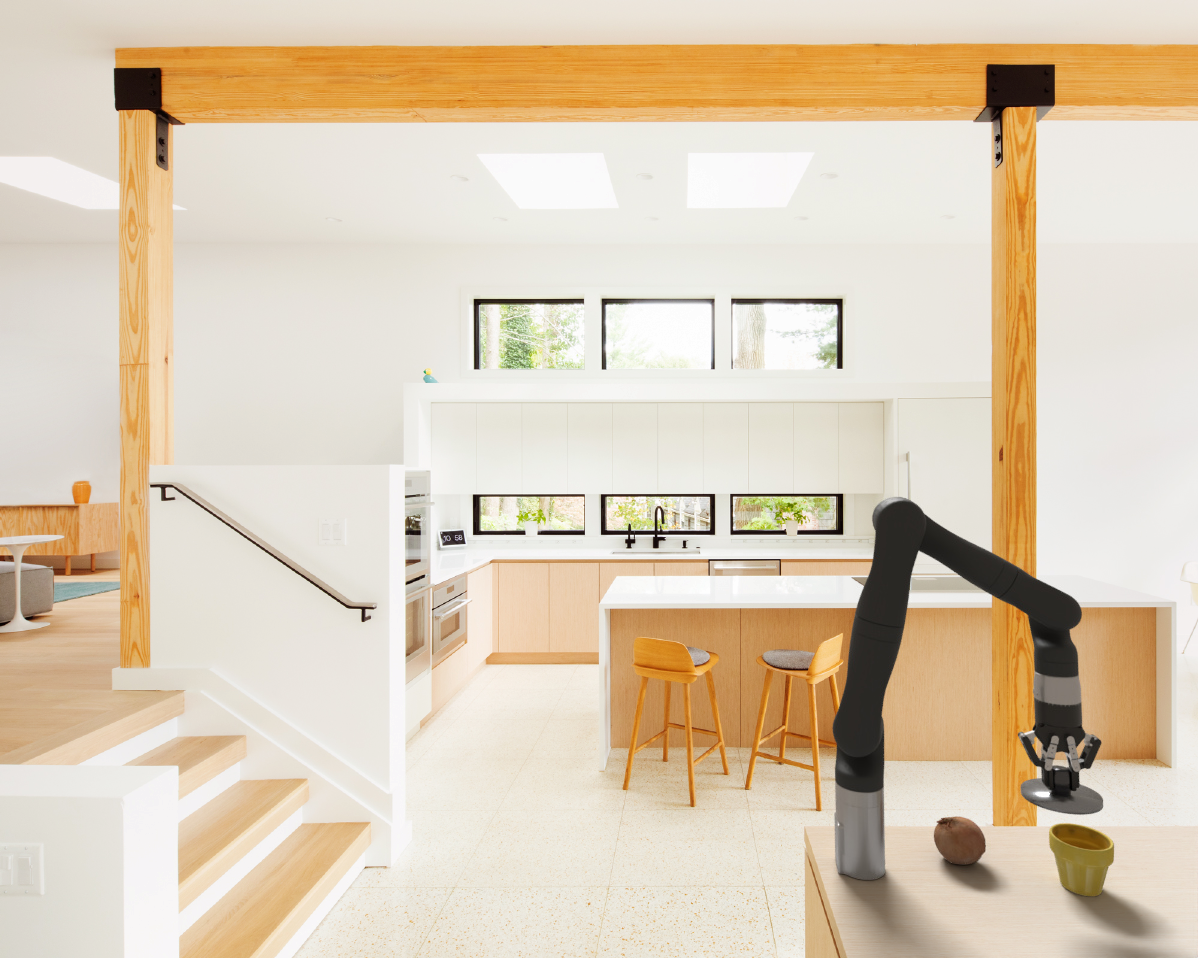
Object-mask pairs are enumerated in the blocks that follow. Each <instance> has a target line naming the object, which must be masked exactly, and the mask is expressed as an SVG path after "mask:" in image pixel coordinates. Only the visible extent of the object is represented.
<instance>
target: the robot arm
mask: <svg viewBox="0 0 1198 958" xmlns="http://www.w3.org/2000/svg"><path fill="white" fill-rule="evenodd" d="M871 519H872V520H871V521H872V527H873V528H874V531H875V532H874V533H875V534H874V546H873V547H874V548H873V555H872V562H871V566H870V569H869V573H868V575H867V579H866V581H865V583H864V585H863V588H862V590H861V593H860V596H859V598H858V601H857V604H856V609H855V612H854V617H853V622H852V628H851V632H850V633H851V635H850V640H849V649H848V656H847V657H848V659H847V671H846V672H847V673H846V680H845V684H844V689H843V694H842V697H841V699H840V702H839V706H838V709H837V712H836V714H835V716H834V719H833V722H832V727H831V728H832V735H833V739H834V741H835V743H836V756H835V757H836V758H835V764H834V783H835V784H834V785H835V786H834V789H835V790H834V792H835V794H834V795H835V799H834V800H835V812H834V817H833V818H834V856H835V857H834V858H835V863H836V868H837V872H838V874H843V875H846V876H849V877H851V878H854V879H856V880H857V879H858V880H865V881H868V880H869V881H870V880H871V881H873V880H877V879H881V877H883V876H884V875H885V873H886V843H885V841H886V840H885V838H886V837H885V836H886V835H885V832H886V831H885V787H884V786H885V783H884V781H885V780H884V779H885V724H884V718H883V709H884V707H883V706H884V701H885V700H884V699H885V695H886V691H887V687H888V684H889V682H890V679H891V677H892V674H893V670H894V668H895V665H896V661H897V658H898V655H899V653H900V652H899V651H900V648H901V645H902V640H903V636H904V635H903V634H904V631H905V630H904V629H905V626H906V625H905V624H906V619H907V612H908V606H909V599H910V591H911V580H912V579H911V578H912V574H913V570H914V567H915V563H916V561H917V557H918V554H919V552H921V553H922V554H924V555H927V556H928V557H930V558H931V559H934V560H935V561H937V562H939V563H940V564H942V565H943V566H945V567H946V568H948V569H949V570H951V571H953V572H954V573H955V574H957V575H958V576H959V577H960V578H962V579H964V580H966V581H967V582H969V583H970V584H972V585H974V586H975V587H977V588H978V589H980V590H982V591H984V592H985V593H987V594H988V595H991V596H993V597H994V598H997V599H998V600H1000V601H1002V602H1004V603H1006V604H1009V605H1010V606H1012V607H1015V608H1016V609H1018V610H1019V611H1020V612H1022V613H1024V614H1026V615H1027V618H1028V624H1029V629H1030V634H1031V638H1032V643H1033V648H1034V649H1033V667H1034V677H1033V688H1032V694H1033V703H1034V705H1033V706H1034V725H1033V726H1032V730H1030V731H1026V732H1023V731H1019V732H1018V733H1017V737H1018V739H1019V741H1020V742H1021V744H1022V747H1023V749H1024V751H1025V753H1026V755H1027V757H1028V759H1029V760H1030V762H1031V763H1032V764H1033V765H1034V766H1035V767H1038V768H1040V770H1041V771H1040V773H1041V778H1042V782H1043V784H1044V785H1045V786H1046V787H1047V788H1048V789H1049V790H1054V785H1053V771H1052V770H1051V769H1052V766H1054V765H1053V763H1054V760H1055V759H1056V755H1057V753H1061V752H1062V753H1063V754H1065V758H1066V761H1067V762H1066V763H1067V765H1068V766H1067V767H1066V768H1068V769H1070V782H1071V791H1076V788H1079V786H1080V771H1081V770H1084V769H1086V770H1089V769H1091V768H1092V766H1093V763H1094V761H1095V759H1096V756H1097V754H1098V752H1099V750H1100V747H1101V746H1102V740H1101V739H1100V738H1099V737H1097V735H1095V734H1089V733H1087V732H1085V731H1086V730H1085V729H1084V727H1083V710H1082V709H1083V708H1082V685H1081V680H1080V674H1079V673H1080V672H1079V652H1078V648H1077V646H1076V645H1075V644H1074V642H1073V640H1072V637H1071V631H1070V630H1072V629H1075V628H1076V627H1077V626H1078V625H1079V624H1080V623H1081V620H1082V616H1083V612H1082V608H1081V606H1080V603H1079V602H1078V601H1077V600H1076V599H1075V598H1074V597H1073V596H1071V595H1070V594H1069V593H1066V592H1064V591H1062V590H1060V589H1058V588H1056V587H1054V586H1052V585H1050V584H1048V583H1046V582H1044V581H1042V580H1041V579H1038V578H1035V576H1033V575H1031V574H1029V573H1028V572H1027V571H1025V570H1024V569H1022V568H1020V567H1019V566H1017V565H1016V564H1013V563H1012V562H1010V561H1008V560H1007V559H1004V558H1003V557H1001V556H999V555H998V554H996V553H993V552H991V551H990V550H987V549H986V548H984V547H981V546H979V545H977V544H975V543H973V542H971V541H969V540H967V539H965V538H963V537H961V536H959V535H957V534H955V533H954V532H952V531H950V530H949V529H947V528H945V527H944V526H943V525H940V524H939V523H937V522H936V521H935V520H933V519H932V518H931V517H929V516H928V515H927V514H926V513H925V512H924V511H923V509H922V508H921V507H920V506H919V504H917V503H915V501H912V500H911V499H908V498H906V497H902V496H892V497H891V496H890V497H888V498H885V499H883V500H881V501H880V502H879V503H878V504H876V506H875V508H874V509H873V512H872V516H871ZM1035 738H1037V740H1038V741H1039V742H1040V743H1041V748H1040V753H1041V755H1040V757H1039V756H1038V754H1037V751H1036V750H1035V748H1034V744H1035ZM1081 742H1083V744H1084V746H1083V748H1082V751H1081V753H1080V756H1079V754H1078V750H1077V748H1078V746H1079V745H1080V744H1082V743H1081Z"/></svg>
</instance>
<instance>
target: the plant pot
mask: <svg viewBox="0 0 1198 958" xmlns="http://www.w3.org/2000/svg"><path fill="white" fill-rule="evenodd" d="M1048 840H1049V841H1048V843H1049V849H1050V850H1051V851H1052V853H1053V855H1054V859H1055V864H1056V867H1057V872H1058V877H1059V881H1060V884H1061V886H1063V888H1065V889H1067V890H1068V891H1070V892H1072V893H1074V894H1076V895H1080V896H1084V897H1098V896H1100V895H1101V894H1102V892H1103V888H1104V886H1105V881H1106V878H1107V874H1108V870H1109V867H1111V865H1112V864H1113V863H1114V860H1115V843H1114V841H1113V840H1112V838H1111V837H1109V836H1108V835H1107V834H1105V832H1102V831H1100V830H1097V829H1096V828H1092V827H1090V826H1087V825H1083V824H1077V823H1068V822H1065V823H1064V822H1062V823H1056V824H1054V825H1052V826H1051V827H1049V831H1048Z"/></svg>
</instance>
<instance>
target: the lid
mask: <svg viewBox="0 0 1198 958" xmlns="http://www.w3.org/2000/svg"><path fill="white" fill-rule="evenodd" d="M1051 770H1052V771H1053V785H1054V790H1049V789H1048V788H1047V787H1046V786H1045V785H1044V784H1043V782H1042V777H1041V778H1039V777H1038V778H1037V777H1036V778H1032V779H1028V780H1025V781H1023V782H1022V783H1021V784H1020V794H1021V796H1022V797H1023V798H1024V800H1025V801H1027V802H1029V803H1031V804H1032V805H1035V806H1037V807H1038V808H1042V809H1045V810H1048V811H1051V812H1056V813H1061V814H1064V815H1065V814H1068V815H1076V816H1077V815H1079V816H1080V815H1082V816H1084V815H1092V814H1096V813H1098V812H1100V811H1102V810H1103V809H1104V798H1103V796H1102V795H1101V794H1100V793H1099V792H1097V791H1095V790H1094V789H1092V788H1090V787H1088V786H1086V785H1083V784H1080V786H1079V788H1076V791H1071V782H1070V769H1068V768H1067V767H1066V766H1063V765H1052V769H1051Z"/></svg>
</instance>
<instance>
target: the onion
mask: <svg viewBox="0 0 1198 958" xmlns="http://www.w3.org/2000/svg"><path fill="white" fill-rule="evenodd" d="M936 823H937V824H936V826H935V828H934V832H933V841H934V844H935V846H936V849H937V851H938V852H939V853H940V855H941V856H942V857H943V858H944V859H945V860H947V861H948V862H949V863H952V864H954V865H955V864H956V865H974V864H975V863H977V862H978V861H980V859H981V858H982V856H983V855H984V854H985V853H986V850H987V849H986V848H987V847H986V846H987V845H986V838H985V835H984V832H983V831H982V829H981V828H980V826H979V825H978V824H977V823H975V821H973V820H971V819H970V818H967V817H964V816H957V815H956V816H948V817H947V816H945V817H941V818H940V819H939V820H937V821H936Z"/></svg>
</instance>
